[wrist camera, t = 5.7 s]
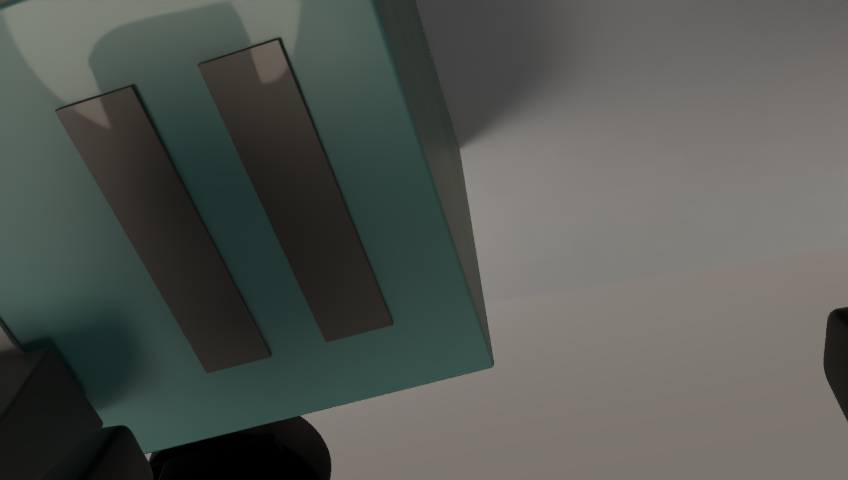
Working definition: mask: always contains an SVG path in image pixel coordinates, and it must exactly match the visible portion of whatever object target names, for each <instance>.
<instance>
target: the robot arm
mask: <svg viewBox="0 0 848 480" xmlns="http://www.w3.org/2000/svg"><path fill="white" fill-rule="evenodd" d="M824 370H825V375H826V378H827V380H828V382H829V385H830V387H831V389H832V391H833V393H834V395H835V397H836V399H837V401H838V403H839V405H840V407H841V409H842V411H843V413H844V415H845V417H846V419H847V421H848V307H845V308H839V309H835V310H833V311H832V312H831V313H830V315H829V316H828V321H827V329H826V340H825V351H824ZM264 445H270V446H271V447H267V446H264ZM36 480H301V478H300V476H299V474H298V472H297V470H296V469H295V467H294V465H293V463H292V461H291V459H290V458H289V456H288V454H287V452H286V450H285V449H284V447H283V445H282V443H281V441H280V439H279V438H278V437H277V436H275V435H273V434H269V433H267V434H261V435H257V436H253V437H249V438H245V439H240V440H236V441H232V442H228V443H224V444H220V445H216V446H212V447H208V448H204V449H200V450H196V451H192V452H188V453H184V454H180V455H176V456H172V457H168V458H164V459H160V460H156V461H152V462H148V460H147V459H146V457H145V455H144V453H143V451H142V449H141V447H140V445H139V444H138V442H137V440H136V438H135V436H134V434H133V433H132V431H131V430H130V429H129V428H128V427H127V426H124V425H116V426H110V427H104V428H99V429H95V430H93V431H92V432H90V433H89V434H88V435H87V436H86V437H85V438H83V439H82V440H81V441H80V442H79V443H78V444H77V445H75V446H74V447H73V448H72V449H71V450H70V451H68V452H67V453H66V454H65V455H64V456H63V457H62V458H60V459H59V460H58V461H57V462H56V463H55V464H54V465H52V466H51V467H50V468H49V469H48V470H47V471H45V472H44V473H43V474H42V475H41V476H40V477H39V478H37V479H36Z"/></svg>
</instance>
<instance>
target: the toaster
mask: <svg viewBox="0 0 848 480" xmlns="http://www.w3.org/2000/svg"><path fill="white" fill-rule="evenodd" d="M47 347H51V348H52V349H53V350H54V352H55V353H56V355H57V356H58V358H59V359H60V360H61V362H62V363H63V365H64V366H65V368H66V369H67V370H68V372H69V373H70V375H71V376H72V378H73V379H74V381H75V382H76V383H77V385H78V386H79V388H80V389H81V391H82V392H83V393H84V395H85V396H86V398H87V399H88V401H89V402H90V403H91V405H92V406H93V408H94V409H95V411H96V412H97V414H98V415H99V416H100V418H101V419H102V421H103V426H102V428H104V427H110V426H116V425H124V426H127V427H128V428H129V429H130V430H131V431H132V433H133V434H134V436H135V438H136V440H137V442H138V444H139V445H140V447H141V449H142V451H143V453H144V454H148V453H152V452H156V451H160V450H164V449H168V448H172V447H176V446H180V445H184V444H188V443H192V442H196V441H200V440H204V439H208V438H212V437H216V436H220V435H224V434H228V433H232V432H236V431H240V430H244V429H248V428H252V427H256V426H260V425H264V424H268V423H272V422H276V421H280V420H284V419H288V418H292V417H296V416H300V415H304V414H308V413H312V412H315V411H320V410H324V409H328V408H332V407H336V406H340V405H344V404H348V403H352V402H356V401H360V400H364V399H368V398H372V397H376V396H380V395H384V394H388V393H392V392H396V391H400V390H404V389H408V388H412V387H416V386H420V385H424V384H428V383H432V382H436V381H440V380H444V379H448V378H452V377H456V376H460V375H464V374H468V373H472V372H476V371H480V370H484V369H488V368H492V367H493V366H494V360H493V354H492V348H491V342H490V335H489V330H488V323H487V316H486V311H485V304H484V298H483V292H482V285H481V279H480V273H479V267H478V261H477V255H476V248H475V242H474V236H473V230H472V224H471V217H470V211H469V205H468V199H467V193H466V187H465V180H464V174H463V168H462V162H461V156H460V149H459V146H458V143H457V139H456V136H455V133H454V129H453V126H452V123H451V119H450V116H449V113H448V110H447V106H446V103H445V100H444V96H443V93H442V90H441V86H440V83H439V80H438V76H437V73H436V70H435V66H434V63H433V60H432V57H431V53H430V50H429V47H428V43H427V40H426V37H425V33H424V30H423V27H422V23H421V20H420V17H419V13H418V10H417V7H416V4H415V0H0V360H3V359H7V358H10V357H14V356H18V355H21V354H25V353H29V352H32V351H36V350H40V349H43V348H47Z"/></svg>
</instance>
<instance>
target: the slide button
mask: <svg viewBox="0 0 848 480" xmlns="http://www.w3.org/2000/svg"><path fill="white" fill-rule="evenodd" d="M102 426H103V421H102V419H101V418H100V416H99V415H98V414H97V412H96V411H95V409H94V408H93V406H92V405H91V403H90V402H89V401H88V399H87V398H86V396H85V395H84V393H83V392H82V391H81V389H80V388H79V386H78V385H77V383H76V382H75V381H74V379H73V378H72V376H71V375H70V373H69V372H68V370H67V369H66V368H65V366H64V365H63V363H62V362H61V360H60V359H59V358H58V356H57V355H56V353H55V352H54V350H53V349H52V348H51V347H47V348H43V349H40V350H36V351H32V352H29V353H25V354H21V355H18V356H14V357H10V358H7V359H3V360H0V480H36V479H37V478H39V477H40V476H41V475H42V474H43V473H44V472H45V471H47V470H48V469H49V468H50V467H51V466H52V465H54V464H55V463H56V462H57V461H58V460H59V459H60V458H62V457H63V456H64V455H65V454H66V453H67V452H68V451H70V450H71V449H72V448H73V447H74V446H75V445H77V444H78V443H79V442H80V441H81V440H82V439H83V438H85V437H86V436H87V435H88V434H89V433H90V432H92V431H93V430H95V429H99V428H102Z"/></svg>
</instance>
